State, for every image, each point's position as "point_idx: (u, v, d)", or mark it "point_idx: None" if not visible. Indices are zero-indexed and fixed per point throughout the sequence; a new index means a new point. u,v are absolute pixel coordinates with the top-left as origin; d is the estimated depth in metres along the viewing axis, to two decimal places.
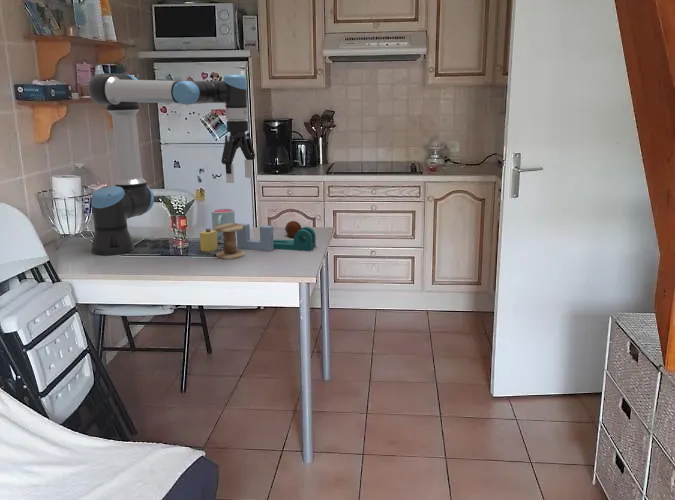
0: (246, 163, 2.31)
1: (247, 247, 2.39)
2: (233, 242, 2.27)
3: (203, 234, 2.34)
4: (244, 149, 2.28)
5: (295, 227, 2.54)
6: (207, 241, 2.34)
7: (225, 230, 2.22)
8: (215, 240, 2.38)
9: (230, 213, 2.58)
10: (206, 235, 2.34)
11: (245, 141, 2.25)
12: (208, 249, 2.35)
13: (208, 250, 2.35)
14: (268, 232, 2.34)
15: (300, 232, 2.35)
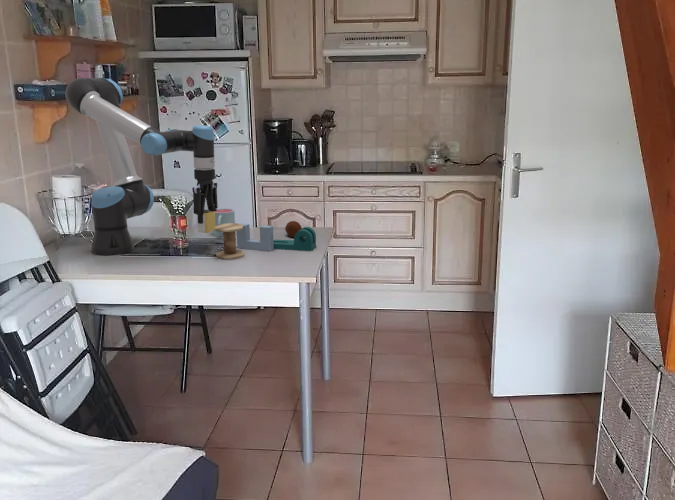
0: None
1: (247, 247, 2.39)
2: (233, 242, 2.27)
3: None
4: (208, 198, 2.35)
5: (295, 227, 2.54)
6: (205, 221, 2.33)
7: (225, 230, 2.22)
8: (213, 221, 2.36)
9: (230, 213, 2.58)
10: None
11: (211, 189, 2.34)
12: (206, 230, 2.33)
13: (206, 231, 2.34)
14: (268, 232, 2.34)
15: (300, 232, 2.34)
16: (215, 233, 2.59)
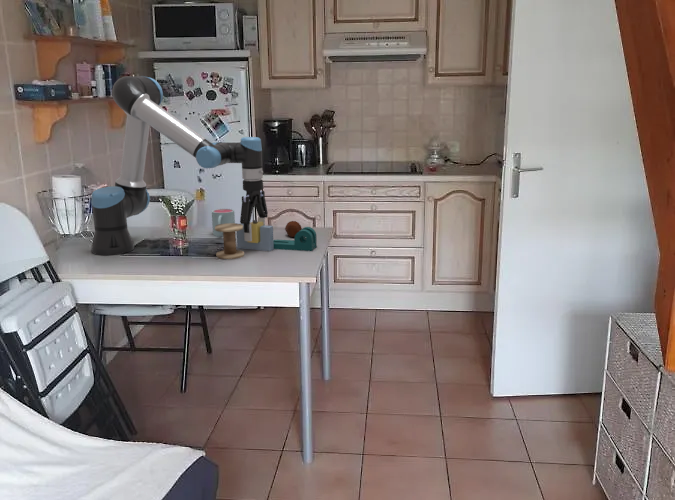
0: (259, 221, 2.42)
1: (247, 247, 2.39)
2: (233, 242, 2.27)
3: None
4: (258, 207, 2.38)
5: (295, 227, 2.54)
6: (254, 232, 2.34)
7: (225, 230, 2.22)
8: None
9: (230, 213, 2.58)
10: (253, 226, 2.34)
11: (260, 199, 2.36)
12: (255, 240, 2.35)
13: (255, 241, 2.35)
14: (268, 232, 2.34)
15: (301, 232, 2.34)
16: (215, 233, 2.59)
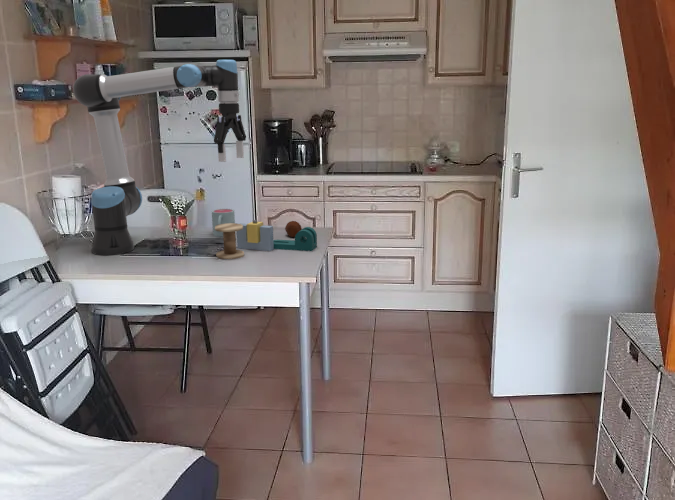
0: (237, 144, 2.45)
1: (247, 247, 2.39)
2: (233, 242, 2.27)
3: (250, 225, 2.34)
4: (235, 130, 2.41)
5: (295, 227, 2.54)
6: (254, 232, 2.34)
7: (225, 230, 2.22)
8: None
9: (230, 213, 2.58)
10: (253, 226, 2.34)
11: (236, 123, 2.38)
12: (255, 240, 2.35)
13: (255, 241, 2.35)
14: (268, 232, 2.34)
15: (301, 232, 2.34)
16: (215, 233, 2.59)
